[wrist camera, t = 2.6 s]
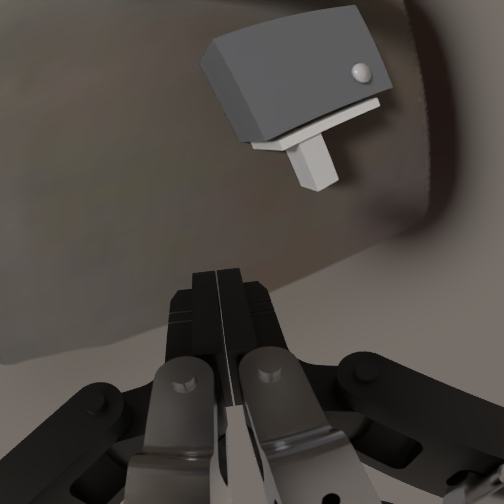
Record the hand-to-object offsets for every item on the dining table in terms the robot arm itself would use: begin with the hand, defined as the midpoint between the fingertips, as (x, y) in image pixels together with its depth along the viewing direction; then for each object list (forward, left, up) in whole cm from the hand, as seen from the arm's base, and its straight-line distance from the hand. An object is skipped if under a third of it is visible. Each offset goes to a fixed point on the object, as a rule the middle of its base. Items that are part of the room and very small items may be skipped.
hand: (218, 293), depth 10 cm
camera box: (-6, +17, -23) cm, 29 cm away
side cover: (+2, +16, -23) cm, 28 cm away
